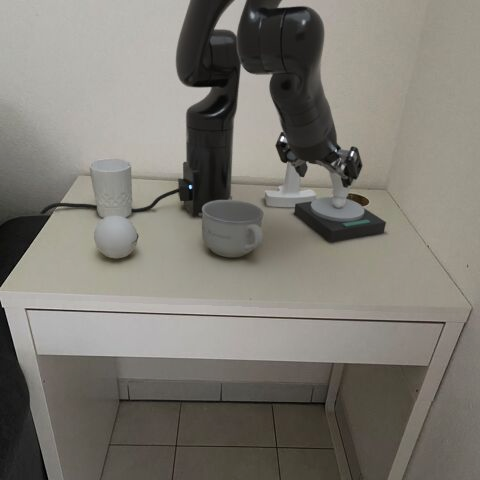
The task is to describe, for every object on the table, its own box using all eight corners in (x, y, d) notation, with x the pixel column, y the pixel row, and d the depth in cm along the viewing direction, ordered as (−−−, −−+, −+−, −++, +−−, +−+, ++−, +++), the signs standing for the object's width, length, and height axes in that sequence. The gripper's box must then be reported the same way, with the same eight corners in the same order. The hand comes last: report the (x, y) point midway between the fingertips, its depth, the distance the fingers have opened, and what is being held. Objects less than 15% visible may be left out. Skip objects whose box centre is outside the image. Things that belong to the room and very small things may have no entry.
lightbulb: (352, 215, 99) (363, 160, 92) (322, 211, 100) (330, 156, 93) (352, 203, 104) (363, 150, 97) (323, 200, 104) (332, 147, 98)
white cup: (131, 204, 105) (128, 157, 99) (137, 219, 99) (133, 170, 93) (93, 207, 103) (87, 159, 97) (97, 222, 97) (90, 172, 91)
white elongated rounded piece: (131, 268, 83) (127, 228, 79) (89, 263, 84) (83, 223, 80) (149, 242, 91) (147, 205, 87) (111, 237, 92) (107, 200, 88)
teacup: (193, 240, 93) (193, 200, 88) (246, 233, 97) (248, 194, 92) (220, 277, 83) (222, 233, 78) (278, 267, 86) (282, 225, 82)
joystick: (267, 207, 108) (276, 110, 96) (260, 194, 114) (268, 101, 102) (316, 206, 109) (330, 111, 98) (307, 193, 115) (319, 102, 104)
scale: (330, 242, 95) (332, 227, 94) (294, 214, 106) (295, 199, 104) (383, 233, 100) (387, 218, 98) (344, 206, 110) (346, 193, 109)
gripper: (361, 110, 72) (370, 167, 87) (275, 95, 78) (297, 151, 92) (342, 155, 71) (354, 205, 86) (256, 136, 77) (282, 187, 92)
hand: (325, 177), depth 89 cm, fingers open, 8 cm apart
